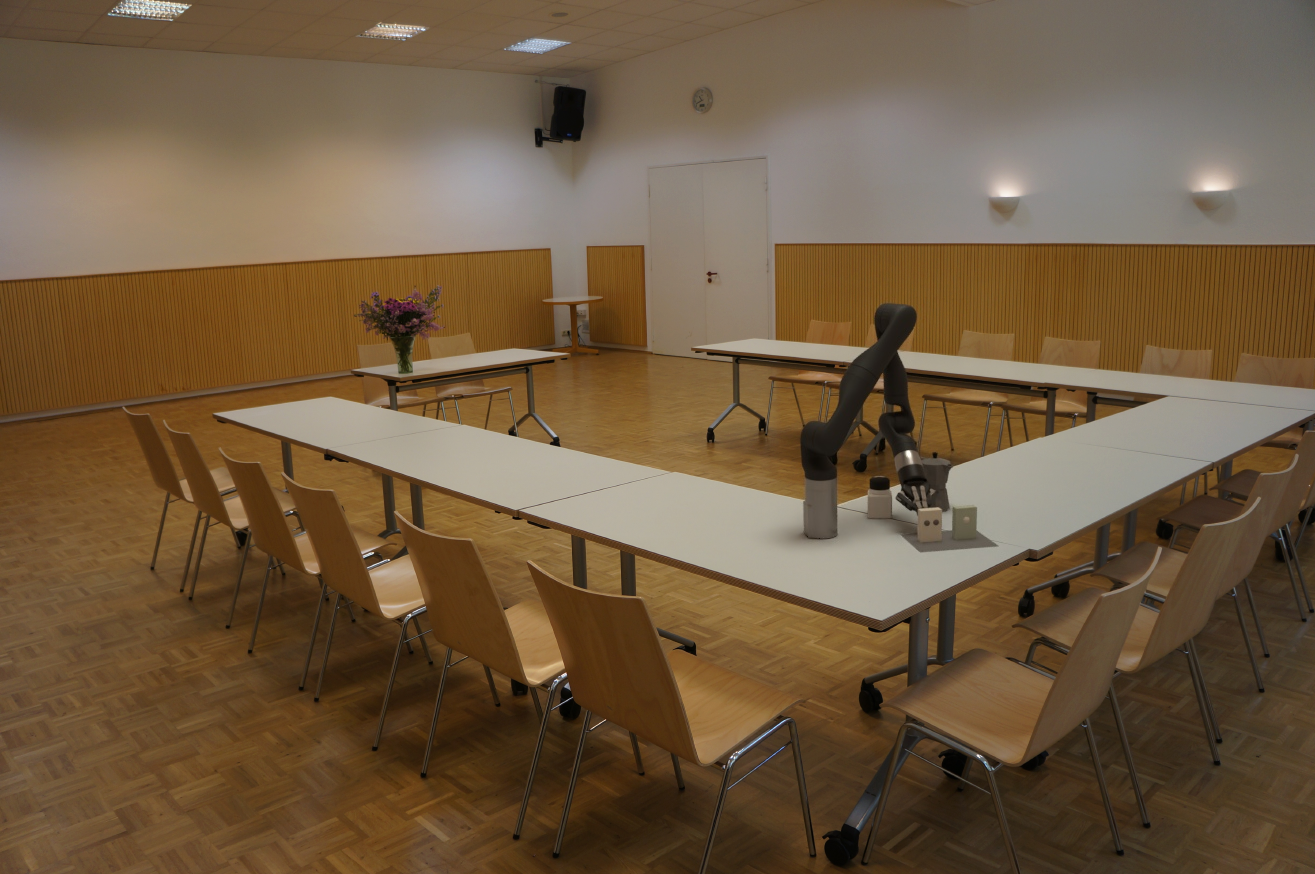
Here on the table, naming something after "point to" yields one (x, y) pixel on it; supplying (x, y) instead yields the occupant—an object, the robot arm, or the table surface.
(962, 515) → the one-dot tile
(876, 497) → the medicine bottle
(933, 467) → the coffeepot
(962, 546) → the slate mat
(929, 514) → the plain beige block
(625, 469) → the table surface
